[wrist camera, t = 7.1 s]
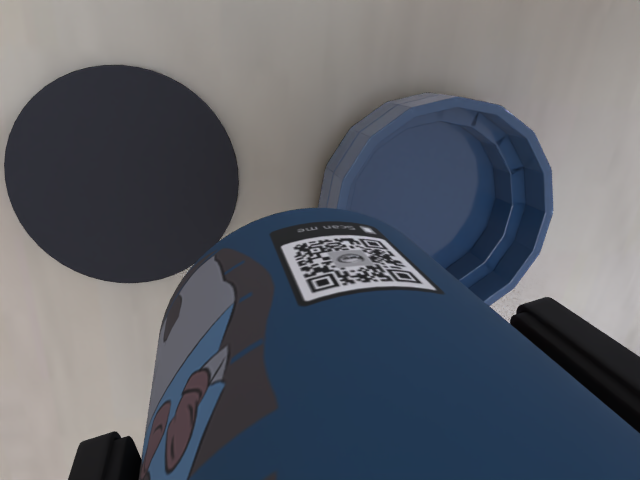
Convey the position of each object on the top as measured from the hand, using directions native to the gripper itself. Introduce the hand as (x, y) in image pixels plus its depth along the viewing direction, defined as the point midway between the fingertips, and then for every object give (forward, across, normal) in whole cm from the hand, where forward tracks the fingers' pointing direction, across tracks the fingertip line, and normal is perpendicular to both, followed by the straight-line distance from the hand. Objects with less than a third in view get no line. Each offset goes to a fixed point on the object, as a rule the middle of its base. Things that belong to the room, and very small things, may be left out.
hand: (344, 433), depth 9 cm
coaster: (+20, +6, -2) cm, 21 cm away
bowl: (+20, -9, +3) cm, 22 cm away
